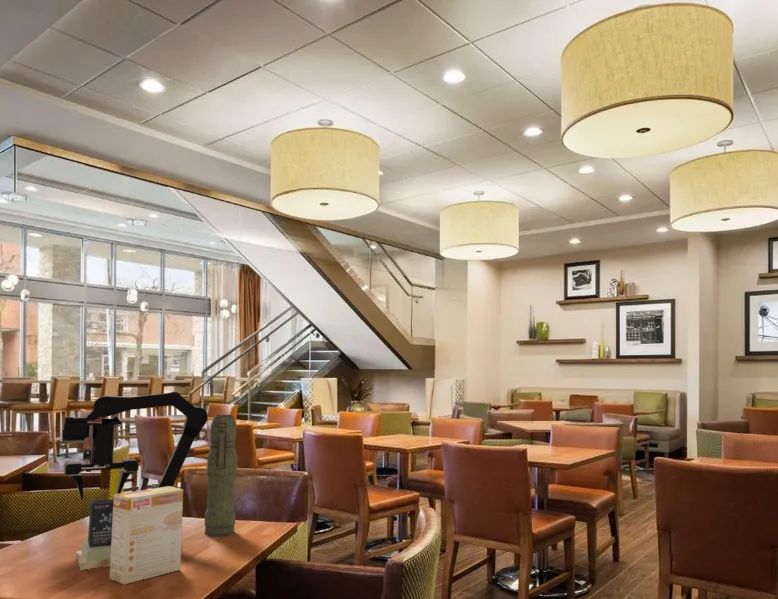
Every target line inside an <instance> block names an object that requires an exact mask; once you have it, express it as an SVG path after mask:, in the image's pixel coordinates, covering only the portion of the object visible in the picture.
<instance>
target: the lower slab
mask: <svg viewBox="0 0 778 599" xmlns="http://www.w3.org/2000/svg"><path fill="white" fill-rule="evenodd" d="M75 557H76V558H77V559H76V561H77V560H78V561H77V564H78V563H79V564H78V566H79V569H80V571H85V570H84V569H88V570H91V569H90V568H96V569H101V568H100V567H103V568H109V567H108V566H110V561H111V559H105V560H97V561H90V562H87V561H86V560H85V558H84V556H83V554H82V550H77V551H76V556H75ZM98 567H99V568H98Z"/></svg>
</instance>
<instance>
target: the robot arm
mask: <svg viewBox="0 0 778 599" xmlns="http://www.w3.org/2000/svg"><path fill="white" fill-rule="evenodd" d="M166 406H168V407H169V406H171V407H173V408H175V409H177V410H178V411H179V412H180V413H181V414H182V415H184V416H185V419H184V423H183V426H182V427H183V428H182V430H181V435H180V436H179V438H178V441H177V444H176V446H175V448H174V451H173V452H172V455H171V457H170V460H169V462H168V464H167V466H166V468H165V471H164V472H163V474H162V477H161V479H160V480H159V482H158V483H157V484H156V485H155V484H154V483H152V484H151V486H150V487H151V488H150V489H154V488H161V487H167V486H171V487H174V486H175V483H176V481H177V478H178V476H179V474H180V473H181V471H182V467H183V465H184V463H185V461H186V459H187V456H188V454H189V452H190V450H191V447H192V445H193V442H194V441H195V439H196V438H197V436H198V435H199V434H200V433H201V431H202V429H203V428H204V427H205V425H206V424H207V422H208V420H209V419H208V418H209V415H208V412H207V411H206V409H204V408H203V407H201V406H195V405H193V404H192V403H191V402H189V400H187V399H185V398H184V397H183V396H182V395H181V394H180V393H179V392H178V391H174V390H173V391H171V392H164V393H155V394H145V395H138V396H137V395H136V396H122V395H121V396H119V395H101V396H100V397H98V398H97V399H96V401H94V403H93V410H92V411H91V412H90V413H88V414H87V416H85V417H79V416H78V417H73V416H65V417H64V424H63V429H62V432H61V433H62V436H61V437H62V443H71V442H72V443H73V442H75V443H77V442H80V443H81V442H86V439H90V438H91V447H90V448H83V450H82V461H83V462H88V461H89V463H82V462H81V461H65V463H64V465H63V474H64V475H65V476H69V478H70V479H73V480H74V482H75V483H76V487H77V491H78V494H79V498H80V500H81V501H83V500H84V484H83V482H84V480H83V474H82V472H88V471H90V472H91V471H105V470H106V471H107V470H119V472H118V473H119V475H118V482H117V488H116V494H121V493H122V491H123V488H124V485H125V484H126V482H127V480H128V479H129V477H130V475H133V474H134V472H137V471H139V466H140V465H139V464H140V463H139V461H138V460H137V459H136V458H121V460H120V461H117V462H115V461H114V451H115V434H116V425H117V426H119V425H123V421H122V420H121V419H120V418H119V416H118V415H119V414H121V413H124V412H128V411H131V410H142V409H150V408H157V407H160V408H161V407H166ZM111 416H114V417H113V418H108V417H111ZM99 418H102V419H101V421H100V422H98V421H96V420H97V419H99ZM94 421H95V422H94ZM91 426H92V434H91ZM91 435H92V437H91Z"/></svg>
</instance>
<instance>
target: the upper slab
mask: <svg viewBox="0 0 778 599" xmlns="http://www.w3.org/2000/svg"><path fill="white" fill-rule="evenodd" d="M81 551H82V554H83V556H84V558H85V560H86V561H87V562H90V561H97V560H105V559H111V544H108V545H98V546H91V547H90V546H89V543H88V540H87V541H82V542H81Z"/></svg>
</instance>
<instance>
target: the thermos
mask: <svg viewBox="0 0 778 599" xmlns="http://www.w3.org/2000/svg"><path fill="white" fill-rule="evenodd" d="M236 439H237V422H236V419H235V416H234V415H232V414H216V415H214V416H213V418H212V421H211V423H210V440H209V441H210V445H209V452H208V453H207V461H206V463H207V464H206V473H207V477H208V478H207V484H208V485H207V500H206V501H207V504H206V505H207V506H206V511H205V513H204V535H205V536H209V537H227V536H230V535H233V534H234V533H235V524H236V511H235V486H236V485H235V484H236V483H235V482H236V474H237V472H238V454H237V450H236V448H237V447H236Z"/></svg>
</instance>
